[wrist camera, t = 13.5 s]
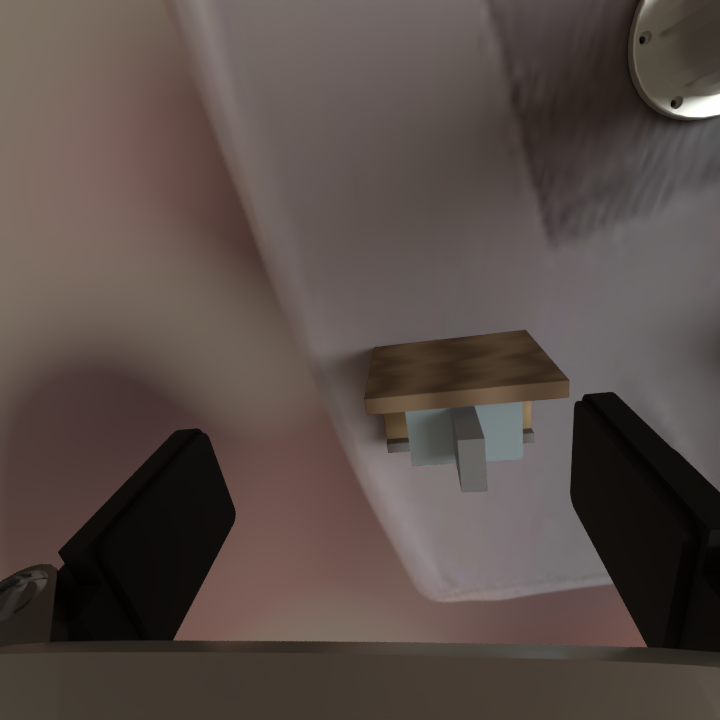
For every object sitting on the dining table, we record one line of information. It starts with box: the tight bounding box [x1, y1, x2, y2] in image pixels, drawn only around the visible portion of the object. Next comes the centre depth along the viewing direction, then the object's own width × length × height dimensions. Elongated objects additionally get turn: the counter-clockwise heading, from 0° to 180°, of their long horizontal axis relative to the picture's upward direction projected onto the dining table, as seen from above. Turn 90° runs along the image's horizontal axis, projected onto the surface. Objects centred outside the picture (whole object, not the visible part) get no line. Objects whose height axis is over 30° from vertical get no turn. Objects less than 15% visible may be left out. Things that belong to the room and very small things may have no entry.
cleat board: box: [364, 330, 569, 453], centre depth 39 cm, size 16×12×12 cm
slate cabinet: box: [405, 402, 523, 492], centre depth 36 cm, size 10×7×13 cm
